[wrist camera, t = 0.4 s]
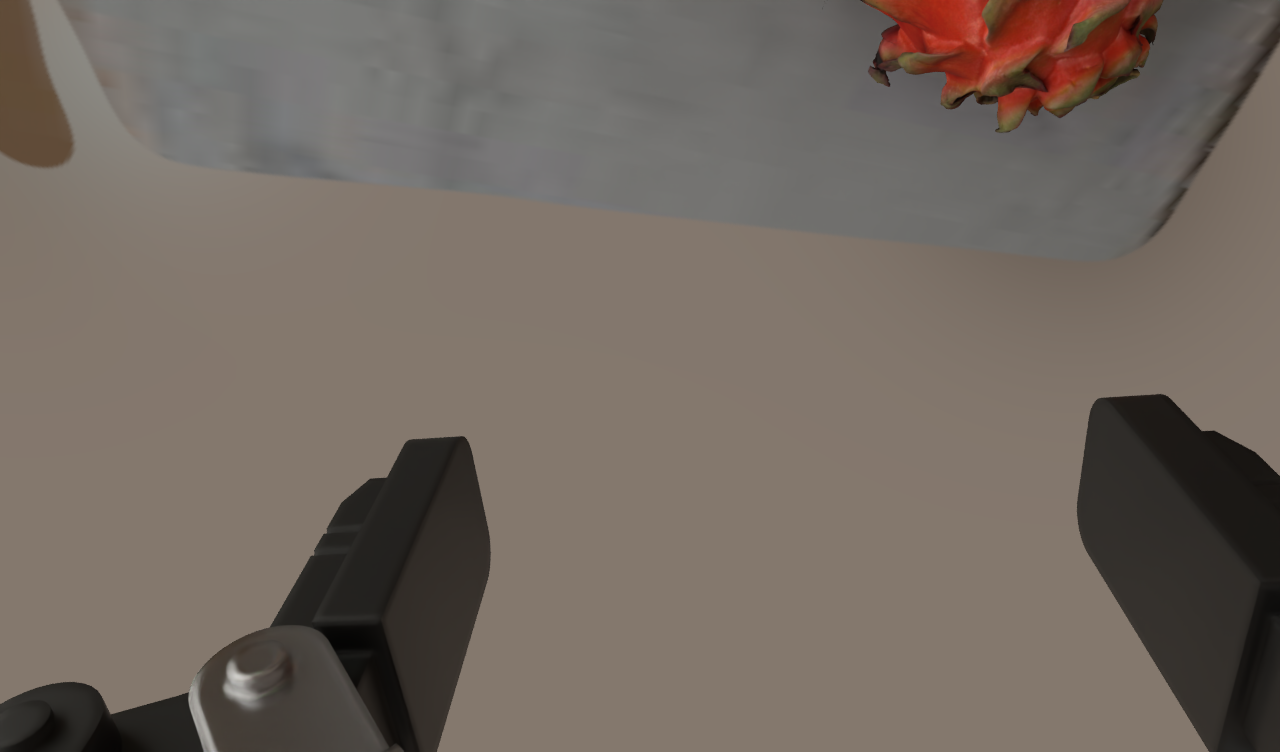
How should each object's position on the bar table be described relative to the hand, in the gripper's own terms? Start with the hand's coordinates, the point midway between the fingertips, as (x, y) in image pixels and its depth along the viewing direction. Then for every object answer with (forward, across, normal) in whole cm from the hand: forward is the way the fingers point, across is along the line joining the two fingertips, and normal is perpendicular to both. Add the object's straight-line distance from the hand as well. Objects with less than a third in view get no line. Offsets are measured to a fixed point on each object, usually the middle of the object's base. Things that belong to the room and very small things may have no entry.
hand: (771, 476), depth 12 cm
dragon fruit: (+29, -10, -4) cm, 31 cm away
